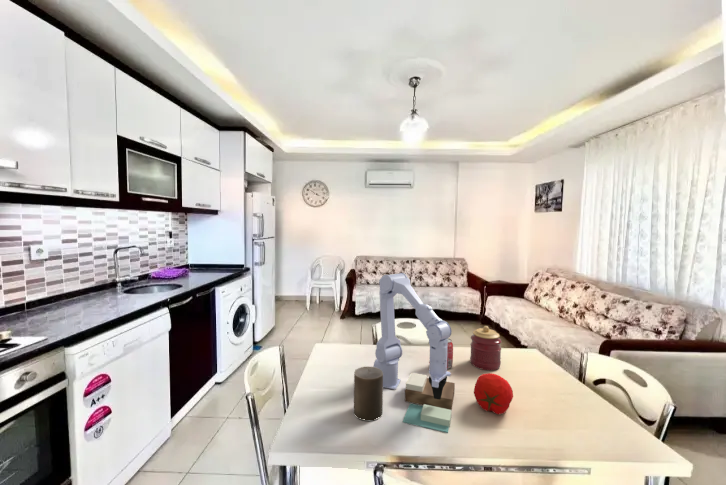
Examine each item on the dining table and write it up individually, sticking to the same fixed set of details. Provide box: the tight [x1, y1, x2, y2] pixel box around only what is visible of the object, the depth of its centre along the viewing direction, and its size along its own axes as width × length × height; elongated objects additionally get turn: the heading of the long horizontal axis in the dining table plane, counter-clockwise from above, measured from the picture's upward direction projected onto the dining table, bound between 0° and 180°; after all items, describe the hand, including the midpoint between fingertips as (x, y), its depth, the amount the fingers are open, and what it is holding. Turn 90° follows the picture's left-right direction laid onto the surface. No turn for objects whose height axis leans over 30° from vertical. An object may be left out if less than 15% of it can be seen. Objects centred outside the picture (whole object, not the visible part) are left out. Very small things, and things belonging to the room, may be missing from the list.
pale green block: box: [421, 404, 453, 428], centre depth 101 cm, size 9×6×2 cm, turn 69°
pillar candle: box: [353, 366, 384, 421], centre depth 104 cm, size 10×10×15 cm
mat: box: [402, 402, 450, 434], centre depth 102 cm, size 14×11×1 cm
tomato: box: [473, 372, 514, 415], centre depth 107 cm, size 13×13×13 cm
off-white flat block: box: [405, 372, 428, 392], centre depth 115 cm, size 9×6×2 cm, turn 159°
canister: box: [469, 325, 503, 371], centre depth 141 cm, size 13×13×18 cm
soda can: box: [447, 337, 454, 370], centre depth 139 cm, size 7×7×12 cm
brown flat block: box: [404, 377, 456, 410], centre depth 114 cm, size 16×12×4 cm
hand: (437, 398), depth 105 cm, fingers closed
